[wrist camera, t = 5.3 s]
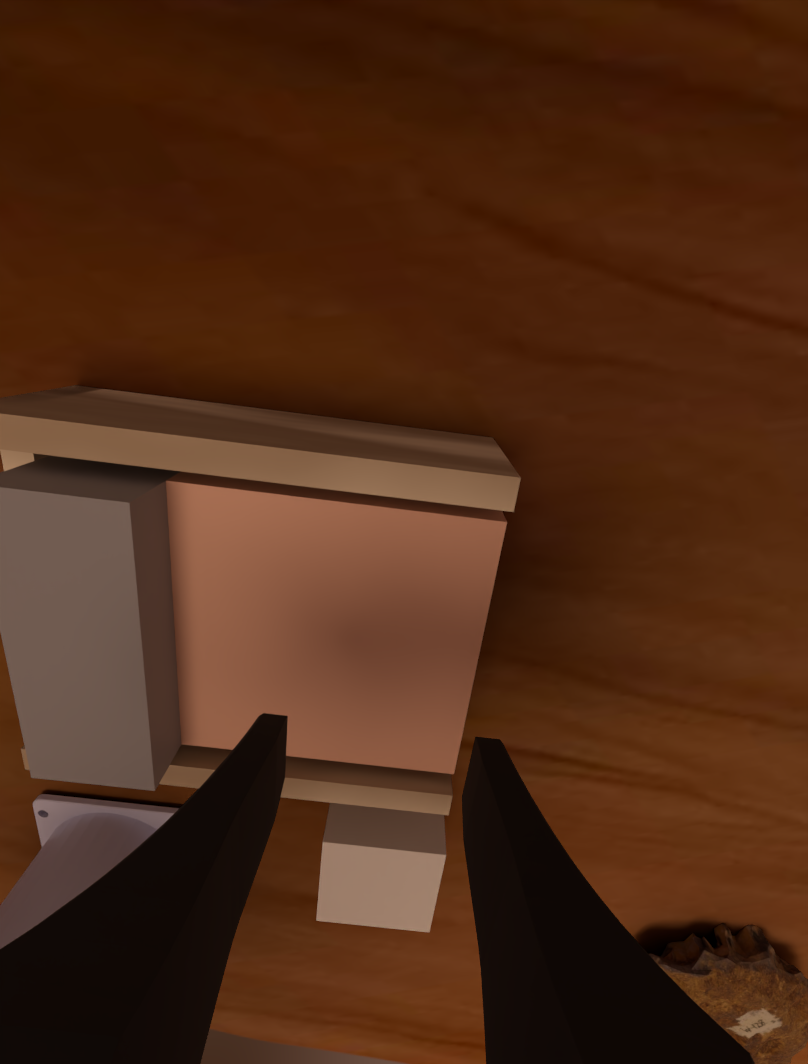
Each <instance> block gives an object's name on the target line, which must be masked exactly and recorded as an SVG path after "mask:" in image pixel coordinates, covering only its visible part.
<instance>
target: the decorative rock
mask: <svg viewBox="0 0 808 1064" xmlns="http://www.w3.org/2000/svg"><path fill="white" fill-rule="evenodd" d="M714 931H715V936H716V939H717V944H716V947H715V949H713V948H712V946H711V945H710V944H709V942H708V941H707V940H706V939H705V937H703V938H702V939H701V938H699V937H697V936H695V934H694V933H692V934H691V935H690V936H689V937H688V938H687V939H686V940H685V941H678V942H671V943H669V944H667V946H666V948H665V950H664V951H663V953H662V955H661V956H657V955H654V954H651V953H650V954H649V955H650V956H651V958H652V959H653V960H654V961H655V962H656V963H657V964H658V965H659V966H660V967H661V968H662V970H663V971H664V972H665V973H666V974H667V975H668V976H669V977H670V978H671V979H672V980H673V981H674V982H675V983H676V984H677V985H678V986H679V987H680V988H681V989H682V990H683V991H684V992H685V993H686V994H687V995H688V996H689V997H690V998H691V999H692V1000H693V1001H694V1002H695V1003H696V1004H697V1005H698V1006H699V1007H700V1008H702V1009H703V1010H704V1011H705V1012H706V1013H707V1014H708V1015H709V1016H710V1017H711V1018H712V1019H713V1020H714V1021H716V1022H717V1023H718V1024H719V1025H720V1026H721V1027H722V1028H723V1029H724V1030H725V1031H726V1032H727V1033H728V1034H730V1035H731V1036H732V1037H733V1038H734V1039H735V1040H736V1041H737V1042H738V1043H739V1044H740V1045H741V1046H742V1047H743V1048H745V1049H746V1050H747V1051H748V1052H749V1053H750V1055H751V1057H752V1059H753V1061H754V1062H755V1064H789V1063H791V1059H792V1056H794V1055H795V1054H796V1053H798V1052H799V1051H800V1050H802V1049H803V1048H805V1046H806V1044H807V1041H808V979H806V978H805V977H804V976H803V974H802V973H801V972H800V971H799V970H798V969H797V968H796V967H795V966H793V965H790V964H788V963H787V962H786V961H785V960H784V959H780V958H779V957H778V955H777V954H776V953H775V950H774V949H773V948H772V946H771V945H770V944H769V942H768V941H767V940H766V938H765V936H764V934H763V932H762V930H761V929H760V928H758V927H756V926H755V925H747V926H745V927H744V928H743V929H742V930H741V931H740V932H739V933H738V934H737V935H736V936H732V935H731V932H730V930H729V928H728V927H727V926H726V925H725V924H724V923H722V924H720V925H719V926H717V927H716V928H714Z"/></svg>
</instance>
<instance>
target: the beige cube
mask: <svg viewBox="0 0 808 1064" xmlns="http://www.w3.org/2000/svg"><path fill="white" fill-rule="evenodd" d="M445 858H446V842H445V823H444V815H441V814H431V813H422V812H413V811H404V810H394V809H385V808H376V807H367V806H357V805H348V804H339V803H330V806H329V811H328V816H327V822H326V827H325V833H324V838H323V845H322V857H321V869H320V881H319V893H318V905H317V917H316V921H324V922H334V923H344V924H353V925H363V926H373V927H382V928H392V929H402V930H411V931H421V932H429V931H430V927H431V922H432V918H433V913H434V909H435V904H436V899H437V895H438V890H439V886H440V881H441V877H442V872H443V867H444V863H445Z"/></svg>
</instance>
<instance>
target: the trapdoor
mask: <svg viewBox="0 0 808 1064" xmlns="http://www.w3.org/2000/svg"><path fill="white" fill-rule="evenodd" d="M506 525H507V521H506V519H505V517H504V514H503V512H502V511H499V510H491V509H483V508H475V507H466V506H458V505H450V504H442V503H434V502H426V501H417V500H409V499H401V498H393V497H385V496H376V495H368V494H360V493H352V492H344V491H335V490H327V489H319V488H311V487H303V486H295V485H286V484H278V483H270V482H262V481H254V480H245V479H237V478H229V477H221V476H213V475H204V474H196V473H188V472H180V471H172V470H164V469H155V468H147V467H139V466H131V465H123V464H114V463H106V462H98V461H90V460H82V459H73V458H65V457H57V456H47V457H44V458H41V459H38V460H36V461H33V462H30V463H27V464H24V465H21V466H18V467H15V468H12V469H10V470H7V471H4V472H1V473H0V632H1V637H2V641H3V646H4V651H5V655H6V660H7V665H8V670H9V674H10V679H11V684H12V689H13V693H14V698H15V703H16V707H17V712H18V717H19V722H20V726H21V731H22V736H23V741H24V745H25V750H26V755H27V760H28V764H29V769H30V774H31V778H39V779H48V780H58V781H67V782H76V783H85V784H95V785H104V786H113V787H123V788H132V789H141V790H150V791H155V790H156V788H157V786H158V785H159V783H160V781H161V779H162V778H163V776H164V774H165V772H166V771H167V769H168V767H169V765H170V763H171V762H172V760H173V758H174V756H175V755H176V753H177V751H178V749H179V748H180V746H181V744H183V745H193V746H202V747H211V748H220V749H229V750H233V749H234V748H235V747H236V745H237V744H238V743H239V742H240V740H241V739H242V738H243V737H244V735H245V734H246V733H247V731H248V730H249V729H250V727H251V726H252V725H253V723H254V722H255V721H256V719H257V718H258V716H260V715H261V714H263V713H267V714H276V715H285V716H288V722H287V745H286V756H293V757H302V758H311V759H320V760H329V761H338V762H347V763H356V764H365V765H374V766H384V767H393V768H402V769H411V770H420V771H429V772H438V773H447V774H454V772H455V767H456V762H457V757H458V753H459V748H460V743H461V738H462V734H463V729H464V724H465V719H466V715H467V710H468V705H469V700H470V696H471V691H472V686H473V682H474V677H475V672H476V667H477V663H478V658H479V653H480V648H481V644H482V639H483V634H484V629H485V625H486V620H487V615H488V610H489V606H490V601H491V596H492V592H493V587H494V582H495V577H496V573H497V568H498V563H499V558H500V554H501V549H502V544H503V539H504V535H505V530H506Z"/></svg>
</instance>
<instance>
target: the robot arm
mask: <svg viewBox="0 0 808 1064" xmlns="http://www.w3.org/2000/svg"><path fill="white" fill-rule="evenodd" d="M287 722H288V716H285V715H276V714H267V713H263V714H261V715H260V716H258V718H257V719H256V721H255V722H254V723H253V725H252V726H251V727H250V729H249V730H248V731H247V733H246V734H245V735H244V737H243V738H242V739H241V740H240V742H239V743H238V744H237V745H236V747H235V748H234V749H233V750H232V751H231V753H230V754H229V755H228V756H227V757H226V759H225V760H224V761H223V762H222V763H221V764H220V765H219V767H218V768H217V769H216V770H215V771H214V772H213V773H212V774H211V776H210V777H209V778H208V779H207V780H206V781H205V782H204V783H203V784H202V786H201V787H200V788H199V789H198V790H197V791H196V792H195V793H194V794H193V795H192V796H191V797H190V798H189V799H188V800H187V801H186V802H185V803H184V804H183V805H182V806H181V807H180V808H172V807H162V806H153V805H144V804H134V803H125V802H116V801H106V800H97V799H88V798H78V797H69V796H60V795H50V794H41V795H39V796H38V797H37V798H36V799H35V801H34V802H33V809H34V813H35V818H36V823H37V827H38V832H39V836H40V841H41V846H42V848H41V850H40V851H39V853H38V854H37V855H36V857H35V858H34V860H33V861H32V862H31V864H30V865H29V866H28V868H27V869H26V871H25V872H24V873H23V875H22V876H21V878H20V879H19V880H18V882H17V883H16V884H15V886H14V887H13V889H12V890H11V891H10V893H9V894H8V896H7V897H6V898H5V900H4V901H3V902H2V904H1V905H0V1064H200V1063H201V1059H202V1055H203V1051H204V1047H205V1043H206V1039H207V1035H208V1032H209V1028H210V1024H211V1020H212V1016H213V1012H214V1009H215V1005H216V1001H217V997H218V993H219V990H220V986H221V982H222V978H223V975H224V971H225V967H226V964H227V960H228V956H229V952H230V949H231V945H232V942H233V939H234V935H235V932H236V929H237V926H238V923H239V920H240V917H241V914H242V911H243V908H244V906H245V903H246V900H247V897H248V894H249V892H250V889H251V886H252V883H253V880H254V877H255V875H256V872H257V869H258V866H259V863H260V861H261V858H262V855H263V852H264V849H265V846H266V844H267V841H268V838H269V835H270V832H271V829H272V826H273V824H274V821H275V817H276V813H277V809H278V805H279V801H280V797H281V792H282V788H283V784H284V780H285V769H286V745H287ZM462 811H463V837H464V847H465V854H466V862H467V869H468V876H469V883H470V890H471V897H472V904H473V911H474V918H475V925H476V932H477V939H478V946H479V956H480V965H481V978H482V994H483V1010H484V1027H485V1047H486V1064H755V1062H754V1061H753V1059H752V1057H751V1055H750V1053H749V1052H748V1051H747V1050H746V1049H745V1048H743V1047H742V1046H741V1045H740V1044H739V1043H738V1042H737V1041H736V1040H735V1039H734V1038H733V1037H732V1036H731V1035H730V1034H728V1033H727V1032H726V1031H725V1030H724V1029H723V1028H722V1027H721V1026H720V1025H719V1024H718V1023H717V1022H716V1021H714V1020H713V1019H712V1018H711V1017H710V1016H709V1015H708V1014H707V1013H706V1012H705V1011H704V1010H703V1009H702V1008H700V1007H699V1006H698V1005H697V1004H696V1003H695V1002H694V1001H693V1000H692V999H691V998H690V997H689V996H688V995H687V994H686V993H685V992H684V991H683V990H682V989H681V988H680V987H679V986H678V985H677V984H676V983H675V982H674V981H673V980H672V979H671V978H670V977H669V976H668V975H667V974H666V973H665V972H664V971H663V970H662V968H661V967H660V966H659V965H658V964H657V963H656V962H655V961H654V960H653V959H652V958H651V956H650V955H649V954H648V953H647V952H646V951H645V950H644V949H643V947H642V946H641V945H640V944H639V943H638V942H637V941H636V940H635V939H634V937H633V936H632V935H631V934H630V933H629V932H628V931H627V930H626V929H625V927H624V926H623V925H622V924H621V923H620V922H619V920H618V919H617V918H616V917H615V916H614V914H613V913H612V912H611V911H610V909H609V908H608V907H607V906H606V904H605V903H604V902H603V901H602V900H601V898H600V897H599V896H598V894H597V893H596V892H595V891H594V889H593V888H592V887H591V885H590V884H589V883H588V881H587V880H586V879H585V877H584V876H583V875H582V873H581V872H580V871H579V869H578V868H577V866H576V865H575V864H574V862H573V861H572V859H571V858H570V857H569V855H568V854H567V852H566V851H565V849H564V848H563V846H562V845H561V843H560V842H559V840H558V839H557V837H556V836H555V834H554V833H553V831H552V830H551V828H550V826H549V825H548V823H547V822H546V820H545V818H544V817H543V815H542V813H541V812H540V810H539V808H538V807H537V805H536V804H535V802H534V800H533V799H532V797H531V795H530V793H529V792H528V790H527V788H526V786H525V784H524V783H523V781H522V779H521V777H520V775H519V774H518V772H517V770H516V768H515V766H514V764H513V762H512V760H511V758H510V756H509V755H508V753H507V751H506V749H505V747H504V745H503V743H502V742H501V740H500V739H491V738H482V737H475V741H474V746H473V750H472V755H471V759H470V763H469V768H468V772H467V777H466V781H465V786H464V790H463V795H462Z"/></svg>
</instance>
